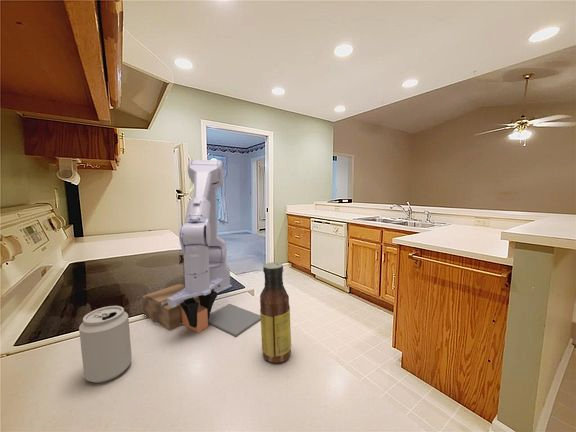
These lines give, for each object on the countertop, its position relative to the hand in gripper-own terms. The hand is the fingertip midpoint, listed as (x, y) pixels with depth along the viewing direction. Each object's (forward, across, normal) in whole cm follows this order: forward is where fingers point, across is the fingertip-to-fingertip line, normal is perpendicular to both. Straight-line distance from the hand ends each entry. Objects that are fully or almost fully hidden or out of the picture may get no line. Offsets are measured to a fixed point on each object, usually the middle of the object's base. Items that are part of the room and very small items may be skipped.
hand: (199, 322), depth 62 cm
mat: (+1, +8, -4) cm, 9 cm away
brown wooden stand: (+1, 0, +12) cm, 12 cm away
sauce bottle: (+2, +3, -22) cm, 22 cm away
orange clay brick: (+1, 0, +4) cm, 4 cm away
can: (+2, -19, +2) cm, 19 cm away
